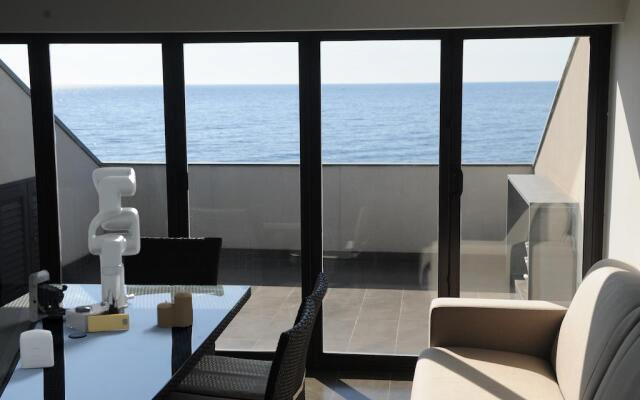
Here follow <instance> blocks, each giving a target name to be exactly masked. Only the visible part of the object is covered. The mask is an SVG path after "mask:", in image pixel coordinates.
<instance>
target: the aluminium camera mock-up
mask: <svg viewBox="0 0 640 400" xmlns="http://www.w3.org/2000/svg"><path fill="white" fill-rule="evenodd" d="M117 306H118V314H126V313H125V308H124V306H120V305H117ZM67 309H68V310H66V315H65V327H67V326H69V327H68V328H70V327H72V328H71V329H73V328H75V329H74V330H77V329H78V330H77V331H80V330H81V331H80V332H83V331H84V333H86V332H85V315H89V316H99V315H109V303H108V302H102V301H100V302H97V303H91V304H87V305H80V306H79V305H78V306H75V307H74V308H73V307H72V308H67Z"/></svg>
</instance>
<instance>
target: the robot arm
mask: <svg viewBox="0 0 640 400" xmlns="http://www.w3.org/2000/svg"><path fill="white" fill-rule="evenodd" d="M136 178H137V177H136V172H135V170H134V168H133V167H130V166H129V167H128V166H127V167H126V166H119V167H117V166H116V167H115V166H114V167H112V166H110V167H109V166H108V167H99V168H96V169H94V170H93V171H92V181H93V184H94V187H95V190H96V191H97V192H96V193H97V194H98V198H99V199H98V205H99V209H98V211H99V212H98V213H97V214H96V215H95V216H94V218H92V220H91V222H90V224H89V226H88V234H87V236H88V237H87V238H88V250H89V253H91V254H92V255H94V256H95V255H96V256H99V260H100V261H99V262H100V263H99V264H100V283H101V284H100V287H101V302H108V303H109V315H114V314H118V306H117V305H120V306H124V309H125V308H127V307H128V306H129V305H130V304H129V301H128V300H132V299H134V298H135V295H134V294H125V267H124V263H123V262H122V261H123V258H122V256H135V255H137V254H139V253H140V250H141V233H140V231H141V230H140V216H139V211H138V210H137V209H136V208H135V207H122V197H132V196H134V195H136V191H137V181H136V180H137V179H136ZM100 226H101V228H102V229H103V230H105V231H128V232H124V233H123V232H118V233H112V232H111V233H104V234H103V235H96V232H97V229H98V228H99V227H100Z"/></svg>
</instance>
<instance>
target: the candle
mask: <svg viewBox="0 0 640 400" xmlns="http://www.w3.org/2000/svg"><path fill="white" fill-rule="evenodd" d="M181 288H182V289H181V291H176V292H175V293H174V294H173V302H169V301H168V300H167V299H165V301H164V302H160V303H158V304H157V305H156V320H157V321H156V322H157V328H163V329H169V328H174V327H179V328H186V326H187V327H190V325H192V326H193V296H192V293H191V292H190V291H186V290H185V288H184V286H182V287H181Z"/></svg>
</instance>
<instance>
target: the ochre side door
mask: <svg viewBox="0 0 640 400" xmlns="http://www.w3.org/2000/svg"><path fill="white" fill-rule="evenodd" d="M119 330H120V331H121V330H130V313H125V314H114V315H99V316H89V315H85V332H84V333H86V334H87V333H91V332H93V333H95V332H103V331H119Z"/></svg>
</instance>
